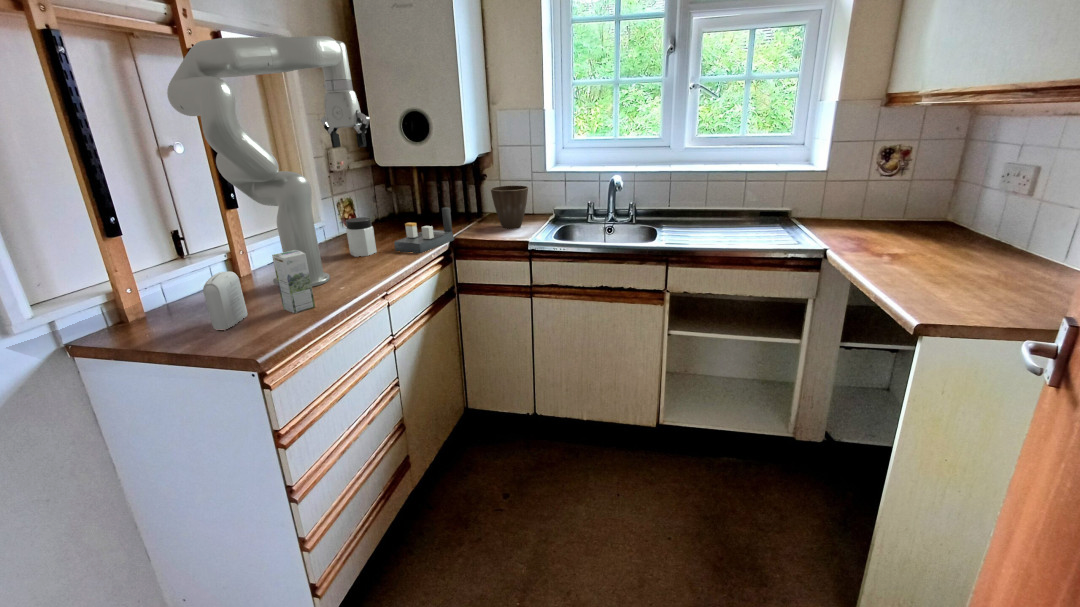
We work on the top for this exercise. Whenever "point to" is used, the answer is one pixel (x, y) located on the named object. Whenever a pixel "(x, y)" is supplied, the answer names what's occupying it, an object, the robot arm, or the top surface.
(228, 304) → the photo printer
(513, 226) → the plant pot
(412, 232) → the paddle on
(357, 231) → the jar
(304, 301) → the syrup box
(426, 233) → the paddle
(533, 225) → the top surface
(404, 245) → the breaker panel
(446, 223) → the post
